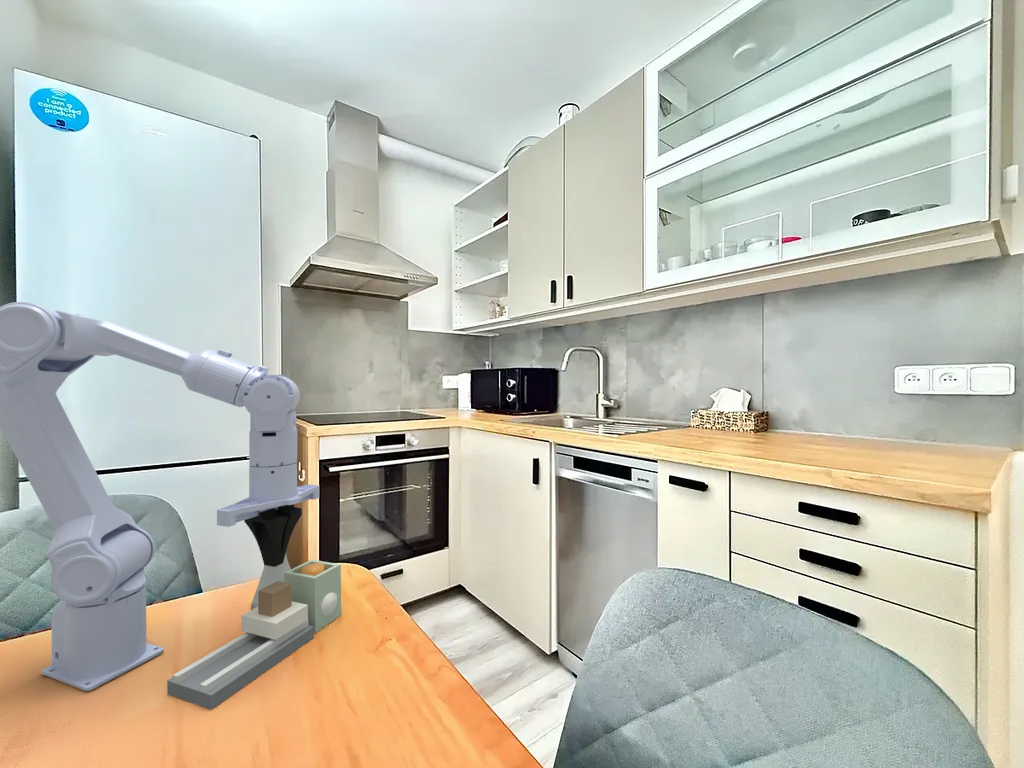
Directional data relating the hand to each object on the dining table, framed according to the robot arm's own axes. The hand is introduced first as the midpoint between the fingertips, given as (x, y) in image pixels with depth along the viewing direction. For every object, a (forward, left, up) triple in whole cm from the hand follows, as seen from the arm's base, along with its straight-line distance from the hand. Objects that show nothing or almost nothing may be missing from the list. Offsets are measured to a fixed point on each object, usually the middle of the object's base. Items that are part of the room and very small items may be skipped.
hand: (273, 564), depth 60 cm
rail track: (+2, -5, -10) cm, 11 cm away
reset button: (+2, +5, -4) cm, 7 cm away
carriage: (+2, -1, -7) cm, 8 cm away
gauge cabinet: (+2, +5, -10) cm, 11 cm away
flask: (-8, +8, -10) cm, 15 cm away
